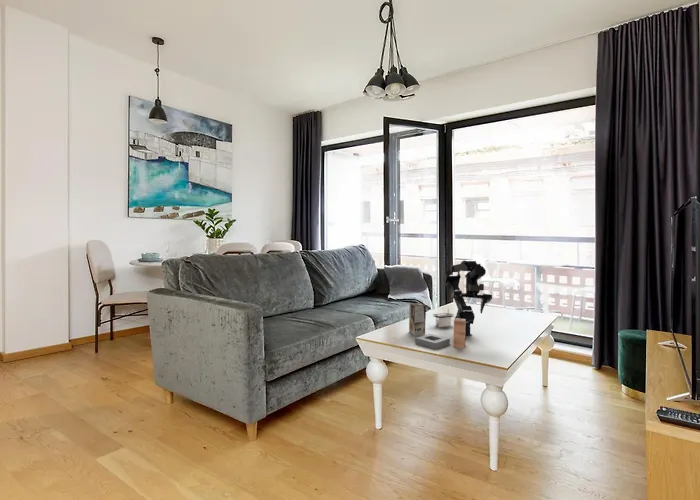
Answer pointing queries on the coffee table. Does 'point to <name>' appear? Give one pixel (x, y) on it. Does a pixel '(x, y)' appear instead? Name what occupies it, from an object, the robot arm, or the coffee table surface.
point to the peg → (459, 333)
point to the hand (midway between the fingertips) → (471, 312)
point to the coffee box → (417, 319)
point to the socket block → (432, 341)
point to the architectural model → (443, 319)
